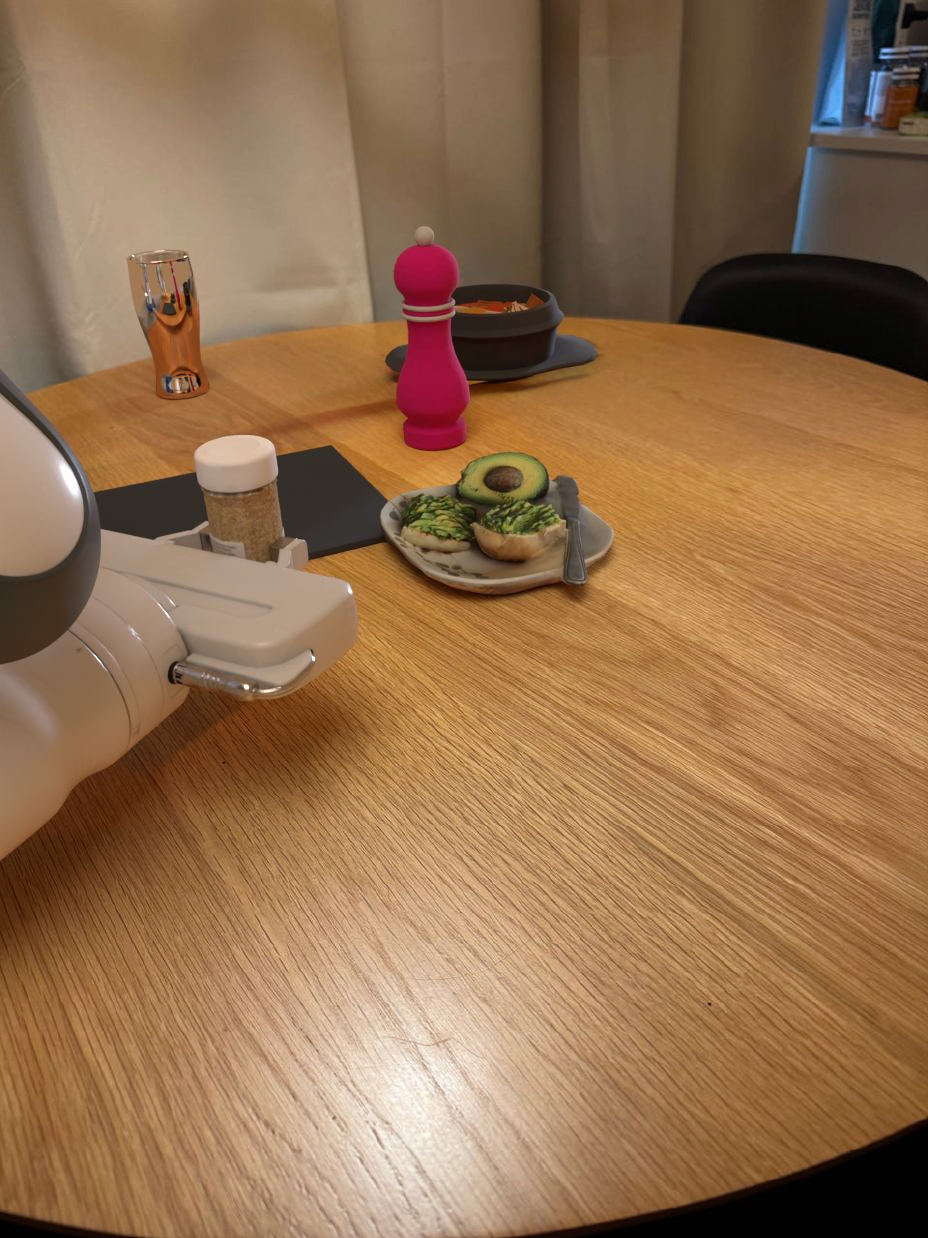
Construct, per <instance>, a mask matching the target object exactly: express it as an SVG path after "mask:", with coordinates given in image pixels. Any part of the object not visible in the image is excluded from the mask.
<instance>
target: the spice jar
mask: <svg viewBox="0 0 928 1238" xmlns="http://www.w3.org/2000/svg"><path fill="white" fill-rule="evenodd" d="M276 456H277V454H276V449H275V446H274V444H273V443H272V442H271V441H270V440H269V439H267V438H265V437H262V436H258V435H252V434H237V435H226V436H222V437H218V438H214V439H211V440H209V441H206V442H205V443H203V444H201V445H199V446H198V448H197V449H195V451H194V454H193V461H194V467H195V472H196V474H197V479H198V483H199V484H200V485H201V490H202V491H203V493H204V500H205V504H206V510H207V516H208V523H209V525H210V530H209V534H210V539H211V544H212V549H213V553H218V554H223V555H227V556H232V557H237V558H242V559H247V560H251V561H256V562H261V563H266V562H267V561H273V559H272V558H271V557H270V551H269V546H270V545H271V544H273V543H274V542H276V541H279V538H281V537H282V536H283V537H285V534H284V528H283V527H282V520H281V513H280V512H281V511H280V506H279V499H278V492H277V486H276V482H277V478H276V477H277V475H278V466H277V459H276Z"/></svg>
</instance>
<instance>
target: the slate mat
mask: <svg viewBox="0 0 928 1238" xmlns="http://www.w3.org/2000/svg"><path fill="white" fill-rule="evenodd" d="M276 459H277V466H278V475H277V477H276V478H277V482H276V486H277V492H278V499H279V506H280V511H281V512H280V513H281V520H282V527H283V528H284V534H285V537H289V538H295V539H301V540H305V541H306V543H307V550H308V558H309V559H308V561H309V560H314V559H317V558H321V557H325V556H326V557H327V556H329V555H333V554H337V553H342V552H346V551H350V550H351V551H352V550H356V549H358V548H362V547H363V548H364V547H366V546H371V545H375V544H378V543H383V542H388V541H387V540H386V538H385V536H384V534H383V532H382V529H381V524H380V512H381V510H382V509H383V507H384V506H385V504H386V503H387V502H388V501H389V499H387V498H386V497H385V495H383V494H382V493H381V492H380V490H379V489H377V488H376V487H375V486H374V485H373V484H372V483H371V482H370V481H369V480H368V479H367V478H366V477H365V476H364V475H363V474H362V473H361V472H360V471H359V470H358V469H357V468H356V467H355V466H354V465H353V464H352V463H351V462H350V461H349V460H347V458H346V457H344V455H342V453H341V452H339V450H337V449H336V448H335V447H334V446H333V445H332V444H329V445H328V444H327V445H324V446H318V447H313V448H309V449H308V448H307V449H304V450H298V451H293V452H287V453H283V454H279V455H276ZM93 493H94V496H95V499H96V503H97V508H98V512H99V519H100V529H103V530H108V531H113V532H118V533H122V534H127V535H132V536H137V537H141V538H146V539H151V540H154V539H156V538H157V537H161V536H166V535H170V534H175V533H179V532H184V531H188V530H190V531H191V530H193V529H194V528H196V527H197V526H199V525H200V524H202V523H203V522H205V521H208V516H207V510H206V504H205V500H204V493H203V491H202V490H201V485H200V484H199V483H198V479H197V474H196V471H193V472H188V473H184V474H177V475H173V476H168V477H162V478H158V479H153V480H148V481H143V482H138V483H133V484H128V485H127V484H126V485H122V486H118V487H113V488H108V489H107V488H106V489H103V490H99V491H98V490H97V491H93Z"/></svg>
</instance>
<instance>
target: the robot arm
mask: <svg viewBox="0 0 928 1238" xmlns="http://www.w3.org/2000/svg"><path fill="white" fill-rule="evenodd" d="M93 492H94V490H93V487H92V483H91V482H90V479H89V477H88V475H87V473H86V470H85V469H84V467H83V464H82V462H81V460H80V459H79V458H78V456H77V454H76V453H75V452H74V450H73V449H72V447H71V446H70V445H69V443H68V442H67V441H66V440H65V438H64V436H62V434H61V433H60V431H58V429H57V428H56V427H55V426H54V425H53V424H52V422H51V421H50V420H49V419H48V418H47V417H46V415H44V414H43V412H42V411H41V410H40V409H39V408H38V407H37V406H36V405H35V404H34V403H33V402H32V401H31V400H30V398H28V396H27V395H26V394H25V393H24V392H23V391H22V390H21V389H20V388H19V387H18V386H17V385H16V384H15V383H14V382H13V380H11V378H10V377H9V376H8V375H7V374H6V373H5V372H4V371H3V369H2V368H0V861H2V860H3V859H4V858H6V857H7V856H8V855H10V854H11V853H12V852H13V851H15V850H16V849H17V848H18V847H19V846H21V845H22V844H23V843H24V842H25V841H27V840H28V839H29V838H30V837H32V836H33V835H34V834H35V833H36V832H38V830H39V829H42V827H43V826H44V825H45V824H47V823H48V822H49V821H50V820H51V819H52V818H53V817H54V816H55V815H56V814H57V813H58V812H59V811H60V809H61V808H62V806H63V805H64V804H65V802H66V800H67V798H68V797H69V795H70V793H71V792H72V791H73V789H75V787H76V786H77V785H78V784H79V783H80V782H82V781H84V780H85V779H86V778H88V777H90V776H91V775H94V774H96V773H99V772H101V771H104V770H105V769H107V768H109V767H111V766H112V765H114V764H115V763H116V762H117V761H119V760H120V759H121V758H122V757H123V756H124V755H126V754H127V753H128V752H130V750H131V749H132V748H134V747H135V746H136V745H137V744H138V743H139V742H140V741H141V740H142V739H144V738H145V737H146V736H147V735H149V733H151V732H152V731H153V730H154V729H155V728H156V727H158V725H160V724H161V723H162V722H163V721H165V720H166V719H167V718H168V717H169V716H170V715H171V714H173V713H174V712H175V711H176V710H177V709H178V708H180V706H181V705H182V704H183V703H184V702H185V700H186V699H187V696H188V694H189V692H190V688H191V689H194V690H199V691H204V692H211V693H217V694H221V695H224V696H226V697H227V698H229V699H231V700H234V701H239V702H246V703H247V702H248V703H249V702H251V703H252V702H253V701H255V700H264V701H266V700H267V701H268V700H275V699H281V698H283V697H286V696H289V695H291V694H294V693H295V692H297V691H299V690H300V689H302V688H304V687H305V686H307V685H308V684H310V683H311V682H313V680H316V679H317V678H318V677H319V676H320V675H322V674H323V673H325V672H326V671H328V670H329V669H330V668H331V667H332V666H334V665H335V664H336V663H337V662H339V661H340V660H341V659H342V658H343V657H344V656H346V655H347V654H348V653H349V652H350V651H351V650H352V649H353V648H354V647H355V646H356V644H357V642H358V640H359V639H358V638H359V630H360V629H359V613H358V606H357V600H356V597H355V596H356V595H355V593H354V591H353V589H352V586H351V584H350V582H348V581H347V580H345V579H342V578H338V577H332V576H327V575H322V574H317V573H314V572H308V571H304V569H305V568H306V567H307V566H308V564H309V560H310V559H309V558H308V550H307V543H306V541H305V540H301V539H295V538H289V537H283V536H282V537H281V538H279V541H276V542H274V543H273V544H271V545H270V546H269V551H270V557H271V558H272V559H273V561H267V562H266V563H261V562H256V561H251V560H247V559H242V558H237V557H232V556H227V555H223V554H218V553H213V549H212V544H211V539H210V534H209V530H210V525H209V523H208V521H205V522H203V523H202V524H200V525H199V526H197V527H196V528H194V529H193V530H191V531H190V530H188V531H184V532H179V533H175V534H170V535H166V536H161V537H157V538H156V539H154V540H151V539H146V538H141V537H137V536H132V535H127V534H122V533H118V532H113V531H108V530H103V529H100V519H99V512H98V508H97V503H96V499H95V496H94V493H93ZM308 559H309V560H308Z"/></svg>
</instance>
